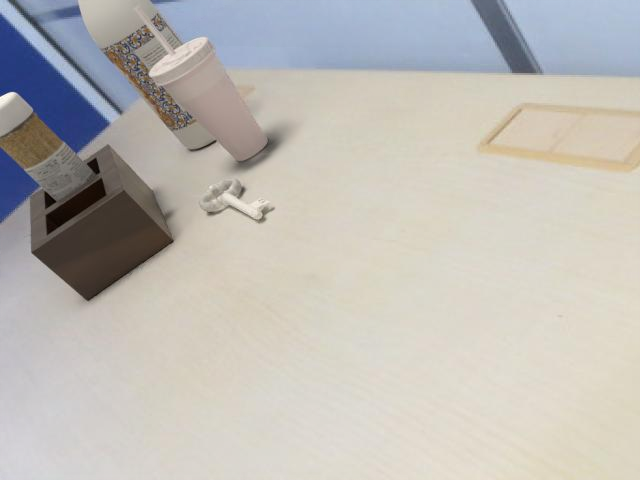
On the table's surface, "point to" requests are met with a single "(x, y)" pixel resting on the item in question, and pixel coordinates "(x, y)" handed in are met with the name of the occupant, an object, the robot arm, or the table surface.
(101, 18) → the bath foam
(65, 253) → the two-slot toaster box
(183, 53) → the smoothie
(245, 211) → the key
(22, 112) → the sprinkles bottle
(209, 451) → the table surface
